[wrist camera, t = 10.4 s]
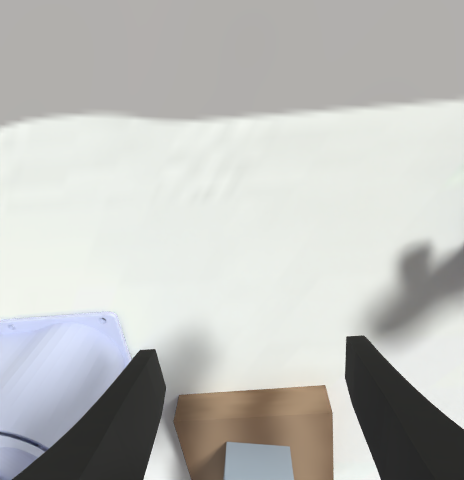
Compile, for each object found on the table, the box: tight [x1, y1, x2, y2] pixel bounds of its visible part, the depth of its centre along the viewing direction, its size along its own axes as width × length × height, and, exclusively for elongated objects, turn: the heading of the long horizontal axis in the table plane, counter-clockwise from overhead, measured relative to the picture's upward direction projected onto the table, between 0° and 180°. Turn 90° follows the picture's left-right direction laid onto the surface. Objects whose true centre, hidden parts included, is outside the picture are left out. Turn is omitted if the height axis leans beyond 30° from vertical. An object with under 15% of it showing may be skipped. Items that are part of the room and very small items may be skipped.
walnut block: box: [174, 385, 333, 480], centre depth 29 cm, size 12×12×3 cm
